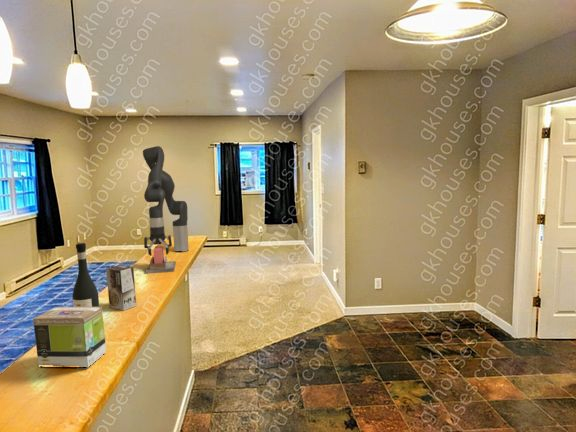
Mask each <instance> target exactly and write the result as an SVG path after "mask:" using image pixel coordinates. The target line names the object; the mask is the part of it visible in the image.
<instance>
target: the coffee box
mask: <svg viewBox="0 0 576 432" xmlns="http://www.w3.org/2000/svg"><path fill="white" fill-rule="evenodd" d="M134 267H135V266H129V265H128V266H127V265H123V264H122V265H121V264H118V265H113V266H111V267H108V268H105V275H106V284H107V293H108V294H107V295H108V303H109V308H111V309H116V310H121V311H126V310H129V309H132V308H134V307H135V308H136V307H137V298H136V286H135V285H136V284H135V283H136V282H135V271H134V270H135V269H134Z"/></svg>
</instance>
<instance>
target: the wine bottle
mask: <svg viewBox="0 0 576 432" xmlns="http://www.w3.org/2000/svg"><path fill="white" fill-rule="evenodd" d="M86 248H87V244H86V243H85V242H79V243H76V244H75V250H76V255H77V265H78V271H77V273H78V274H77V277H76V281H75V284H74V286H73V291H72V305H73V306H72V307H100V300H99V292H98V289H97V286H96V285H95V282H94V281H93V279H92V277H91V275H90V273H89V269H88V264H87V263H88V262H87V252H86V251H87V249H86Z"/></svg>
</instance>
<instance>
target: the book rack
mask: <svg viewBox="0 0 576 432" xmlns="http://www.w3.org/2000/svg"><path fill="white" fill-rule="evenodd" d="M168 262H169V261H167V263H168ZM170 262H173V266H172V267H166V268H165V263H156V264H154V256H152V257H151V259H150V261H149V264H148V266H147V269H146V270H145V274H147V273H149V274H159V273H171V272H172V273H173V272H175V268H176V263H177V262H176V261H175V260H174V261H170ZM147 275H148V274H147Z"/></svg>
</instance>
